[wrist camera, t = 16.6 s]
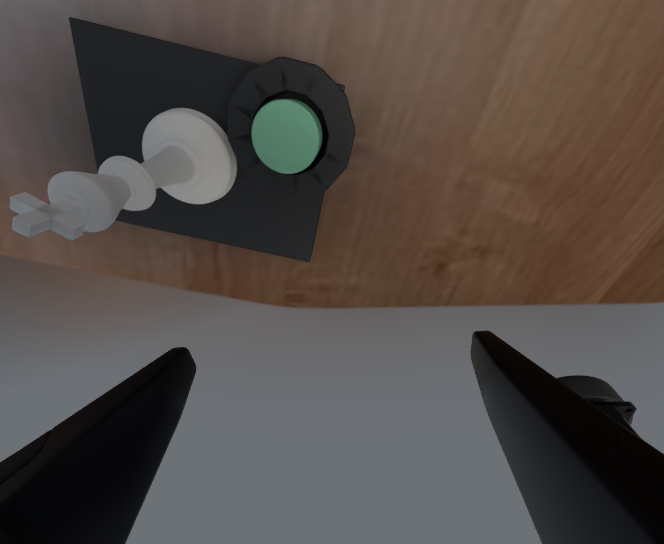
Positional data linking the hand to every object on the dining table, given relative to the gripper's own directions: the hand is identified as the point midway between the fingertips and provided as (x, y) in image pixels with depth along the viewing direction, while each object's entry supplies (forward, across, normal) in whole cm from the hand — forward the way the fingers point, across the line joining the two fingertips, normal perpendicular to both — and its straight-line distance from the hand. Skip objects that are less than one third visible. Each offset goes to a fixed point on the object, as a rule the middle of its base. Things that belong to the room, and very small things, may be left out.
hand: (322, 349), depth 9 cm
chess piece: (+10, +8, -5) cm, 14 cm away
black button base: (+11, +7, -5) cm, 14 cm away
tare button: (+9, +2, -6) cm, 10 cm away
